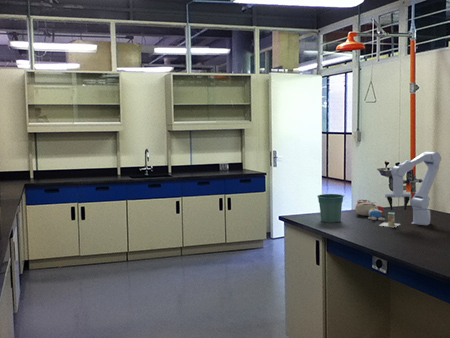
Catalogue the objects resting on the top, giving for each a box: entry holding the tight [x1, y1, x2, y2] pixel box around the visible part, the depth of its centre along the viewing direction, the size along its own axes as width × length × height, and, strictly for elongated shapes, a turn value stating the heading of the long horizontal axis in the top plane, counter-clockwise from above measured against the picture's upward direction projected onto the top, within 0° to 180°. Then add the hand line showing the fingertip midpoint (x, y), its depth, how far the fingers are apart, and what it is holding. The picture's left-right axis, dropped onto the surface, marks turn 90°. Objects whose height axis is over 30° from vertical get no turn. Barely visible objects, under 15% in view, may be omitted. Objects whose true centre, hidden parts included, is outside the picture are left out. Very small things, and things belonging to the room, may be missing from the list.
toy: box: [354, 199, 386, 221], centre depth 327 cm, size 18×10×30 cm
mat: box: [378, 222, 401, 228], centre depth 301 cm, size 10×10×1 cm
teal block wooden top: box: [387, 212, 396, 226], centre depth 299 cm, size 4×6×7 cm, turn 161°
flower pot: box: [317, 193, 345, 224], centre depth 318 cm, size 16×16×16 cm
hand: (398, 209), depth 297 cm, fingers open, 7 cm apart
